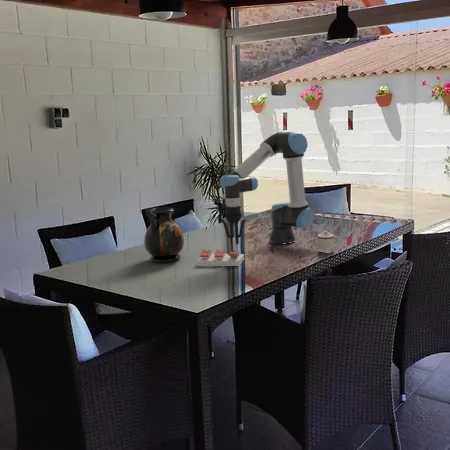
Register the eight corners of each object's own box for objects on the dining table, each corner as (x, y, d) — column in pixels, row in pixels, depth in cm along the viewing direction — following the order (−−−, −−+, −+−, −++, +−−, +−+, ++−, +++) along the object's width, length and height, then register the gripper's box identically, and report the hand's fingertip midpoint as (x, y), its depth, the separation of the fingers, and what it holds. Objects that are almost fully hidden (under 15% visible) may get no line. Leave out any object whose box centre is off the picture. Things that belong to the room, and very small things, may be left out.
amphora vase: (169, 267, 303) (165, 214, 298) (137, 263, 315) (133, 211, 309) (193, 257, 321) (190, 206, 315) (162, 253, 332) (158, 204, 327)
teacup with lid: (336, 250, 320) (336, 229, 318) (330, 254, 313) (330, 233, 311) (316, 248, 327) (316, 228, 324) (309, 252, 319) (309, 231, 317)
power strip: (244, 259, 311) (244, 253, 310) (239, 266, 298) (238, 260, 297) (204, 259, 316) (203, 253, 315) (197, 266, 303) (196, 260, 302)
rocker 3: (239, 256, 305) (239, 251, 304) (236, 258, 298) (236, 253, 298) (231, 256, 306) (231, 251, 306) (228, 258, 300) (228, 253, 299)
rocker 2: (225, 254, 307) (225, 249, 306) (222, 260, 301) (222, 255, 300) (217, 254, 308) (216, 249, 307) (214, 260, 302) (214, 255, 301)
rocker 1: (211, 254, 309) (211, 249, 307) (208, 259, 303) (208, 255, 302) (203, 253, 310) (203, 249, 308) (200, 259, 304) (200, 255, 303)
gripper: (218, 207, 298) (221, 252, 303) (244, 206, 295) (246, 252, 300) (222, 204, 305) (224, 248, 310) (246, 204, 302) (248, 248, 307)
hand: (235, 250), depth 305 cm, fingers closed
